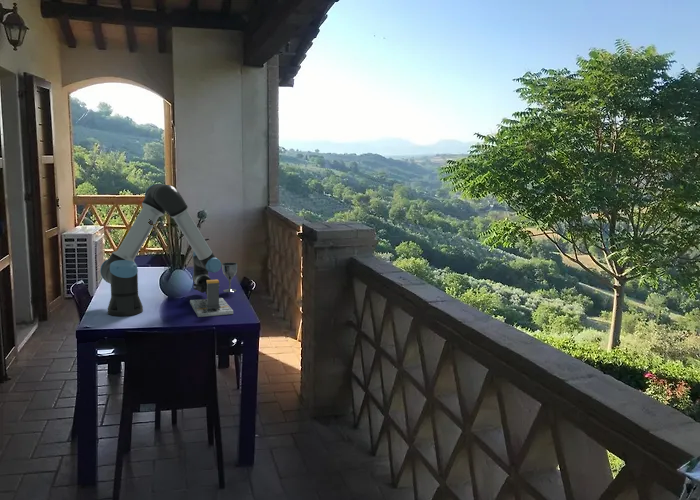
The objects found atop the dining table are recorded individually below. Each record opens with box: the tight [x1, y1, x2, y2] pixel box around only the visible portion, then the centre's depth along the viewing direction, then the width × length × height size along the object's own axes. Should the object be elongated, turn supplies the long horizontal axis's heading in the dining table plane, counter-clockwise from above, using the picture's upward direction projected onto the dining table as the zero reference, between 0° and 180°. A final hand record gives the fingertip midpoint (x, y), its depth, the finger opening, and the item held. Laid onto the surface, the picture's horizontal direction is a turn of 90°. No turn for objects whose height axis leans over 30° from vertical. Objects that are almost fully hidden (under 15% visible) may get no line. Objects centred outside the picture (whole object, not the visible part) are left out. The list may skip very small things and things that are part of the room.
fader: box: [206, 278, 221, 309], centre depth 267 cm, size 6×5×13 cm
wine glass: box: [221, 261, 238, 293], centre depth 309 cm, size 8×8×15 cm
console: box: [189, 297, 234, 318], centre depth 273 cm, size 16×26×2 cm, turn 23°
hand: (212, 293), depth 268 cm, fingers closed
